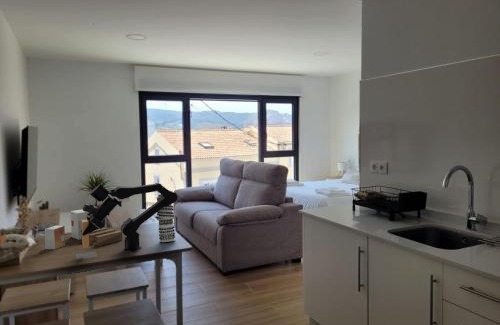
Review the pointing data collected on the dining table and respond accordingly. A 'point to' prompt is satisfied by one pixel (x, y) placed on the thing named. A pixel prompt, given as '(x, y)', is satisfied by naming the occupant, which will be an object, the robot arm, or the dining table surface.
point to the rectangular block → (86, 237)
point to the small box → (55, 237)
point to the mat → (86, 255)
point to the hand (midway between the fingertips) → (82, 233)
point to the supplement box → (77, 223)
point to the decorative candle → (166, 223)
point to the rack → (104, 236)
